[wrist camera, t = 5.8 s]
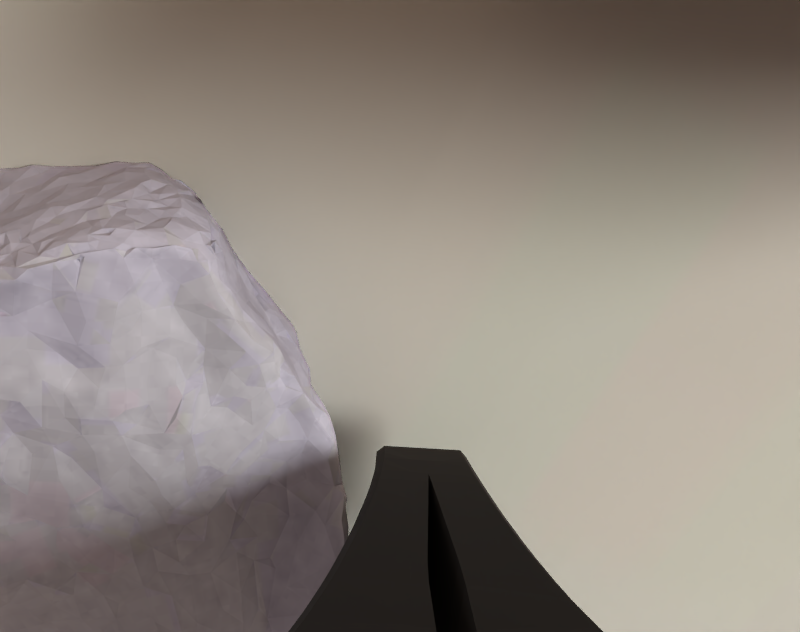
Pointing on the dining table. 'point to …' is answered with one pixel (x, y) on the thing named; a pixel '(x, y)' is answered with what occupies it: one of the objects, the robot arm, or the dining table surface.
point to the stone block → (151, 418)
